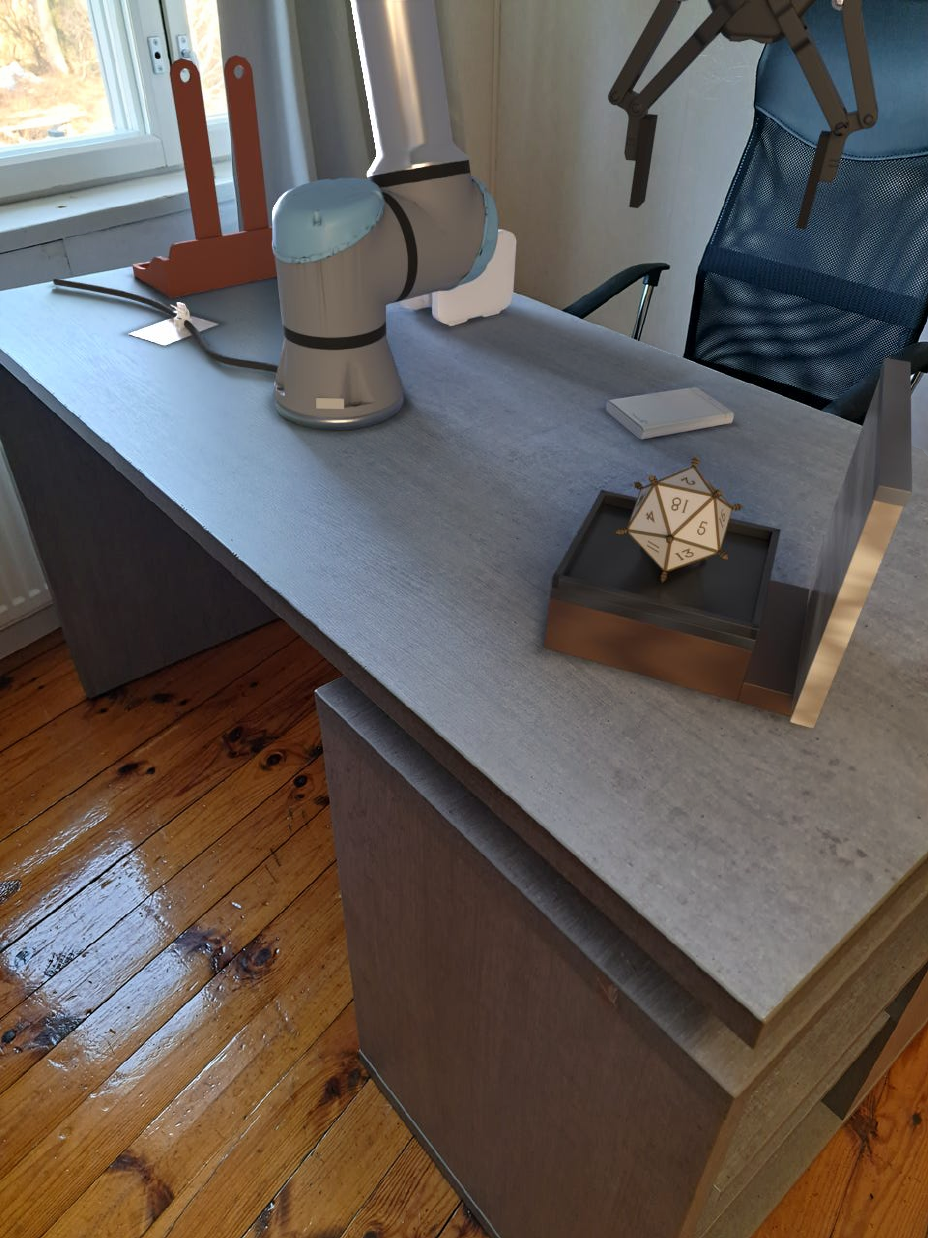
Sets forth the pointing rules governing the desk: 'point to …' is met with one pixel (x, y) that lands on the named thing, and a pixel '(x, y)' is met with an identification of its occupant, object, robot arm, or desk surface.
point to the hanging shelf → (211, 252)
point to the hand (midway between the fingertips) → (717, 214)
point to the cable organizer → (475, 289)
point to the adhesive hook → (173, 327)
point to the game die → (680, 519)
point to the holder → (741, 585)
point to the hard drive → (668, 412)
